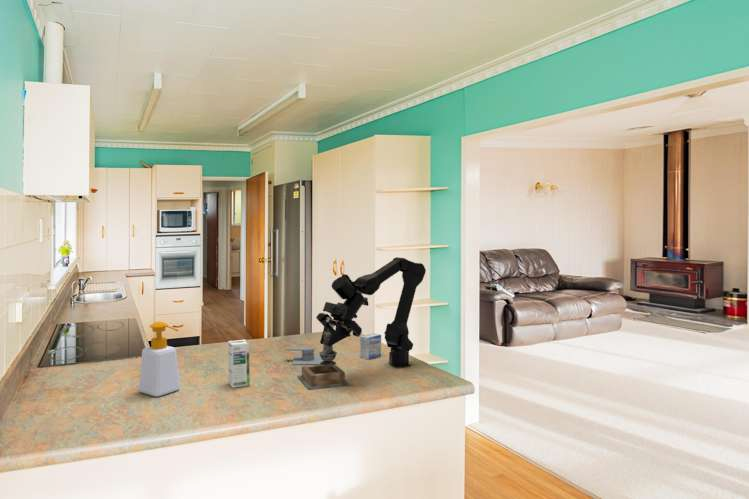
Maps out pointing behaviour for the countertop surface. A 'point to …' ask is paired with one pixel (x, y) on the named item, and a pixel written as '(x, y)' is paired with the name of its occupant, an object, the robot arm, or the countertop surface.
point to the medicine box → (370, 346)
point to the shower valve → (305, 356)
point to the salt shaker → (327, 350)
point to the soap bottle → (159, 365)
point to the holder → (322, 376)
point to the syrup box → (238, 363)
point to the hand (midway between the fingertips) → (324, 344)
